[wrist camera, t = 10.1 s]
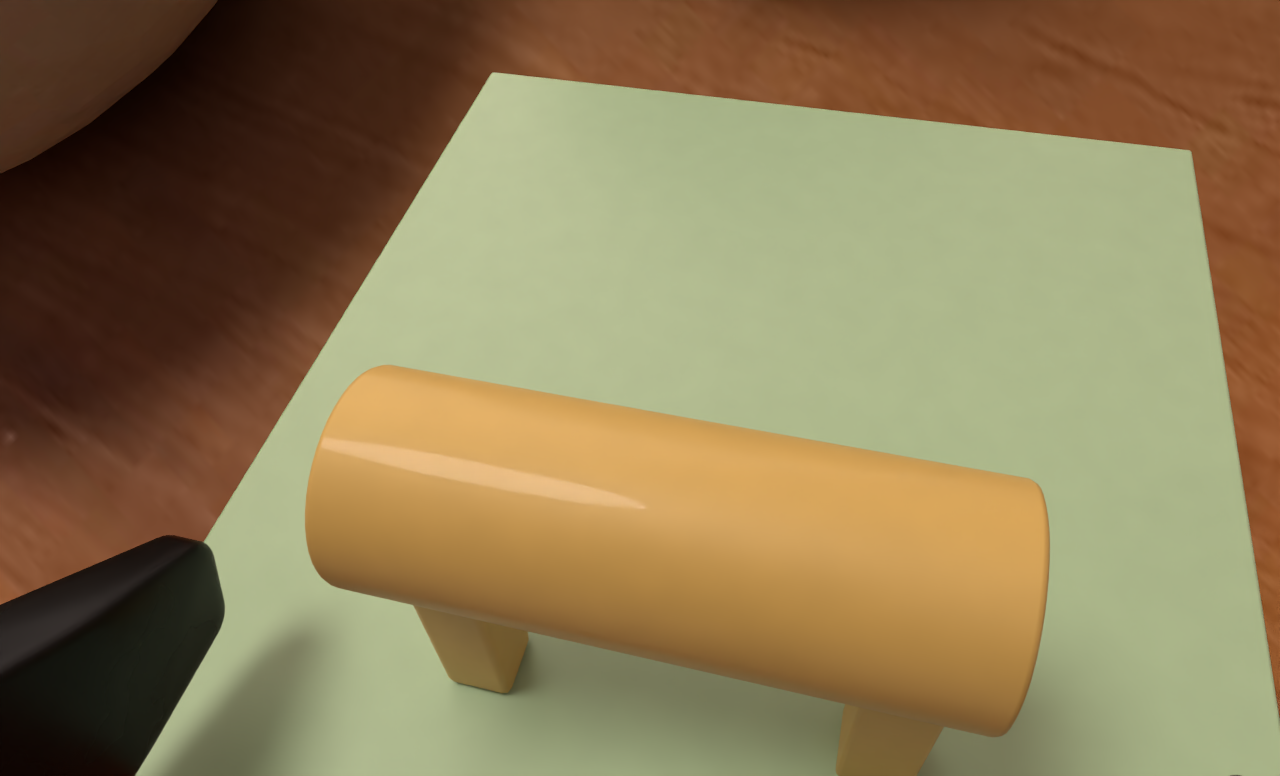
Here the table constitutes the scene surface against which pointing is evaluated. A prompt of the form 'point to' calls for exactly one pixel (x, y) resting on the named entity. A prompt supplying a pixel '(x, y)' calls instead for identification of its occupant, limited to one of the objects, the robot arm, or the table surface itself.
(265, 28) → the table surface
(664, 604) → the box lid
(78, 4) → the bowl
